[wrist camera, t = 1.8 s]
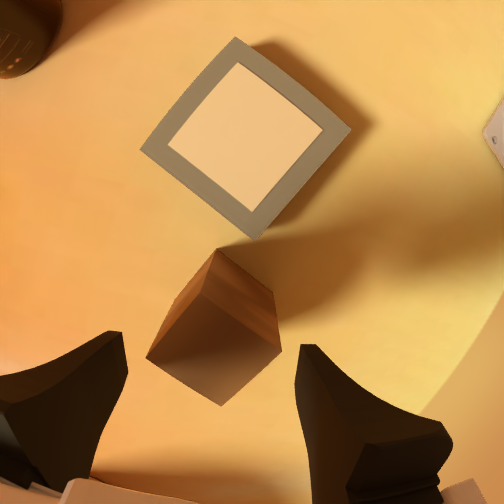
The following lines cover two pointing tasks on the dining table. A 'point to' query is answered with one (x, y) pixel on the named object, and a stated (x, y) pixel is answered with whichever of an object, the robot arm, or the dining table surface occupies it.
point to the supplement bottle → (26, 33)
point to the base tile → (245, 137)
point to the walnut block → (218, 331)
